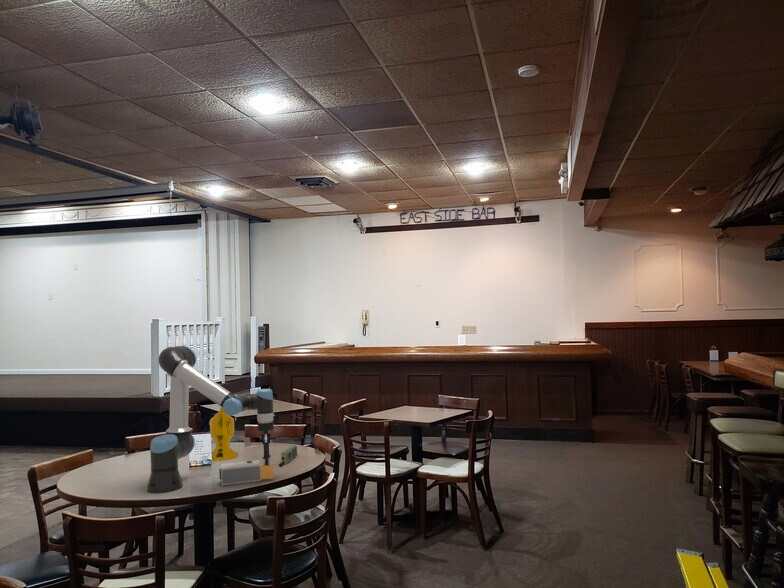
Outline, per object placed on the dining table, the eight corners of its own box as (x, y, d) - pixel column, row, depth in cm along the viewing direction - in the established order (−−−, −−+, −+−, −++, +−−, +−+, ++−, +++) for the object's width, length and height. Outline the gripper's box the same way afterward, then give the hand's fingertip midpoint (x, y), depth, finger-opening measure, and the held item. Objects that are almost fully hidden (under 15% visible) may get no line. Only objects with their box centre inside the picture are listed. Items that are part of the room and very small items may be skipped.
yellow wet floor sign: (218, 463, 310) (217, 411, 311) (197, 457, 327) (196, 408, 329) (247, 457, 322) (245, 407, 324) (225, 452, 339) (224, 404, 341)
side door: (222, 483, 264) (222, 470, 264) (222, 483, 265) (222, 470, 265) (273, 477, 271) (272, 465, 271) (273, 477, 272) (272, 464, 272)
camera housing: (219, 485, 265) (219, 466, 265) (219, 481, 273) (219, 463, 273) (261, 480, 270) (260, 462, 271) (260, 476, 278) (259, 458, 278)
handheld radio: (298, 456, 321) (283, 467, 296) (292, 456, 321) (277, 467, 297) (297, 444, 321) (282, 454, 296) (292, 444, 322) (276, 454, 297)
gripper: (273, 423, 269) (275, 474, 268) (273, 419, 282) (275, 467, 281) (257, 424, 268) (258, 475, 266) (257, 420, 280) (259, 469, 279)
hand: (267, 471), depth 274 cm, fingers closed
